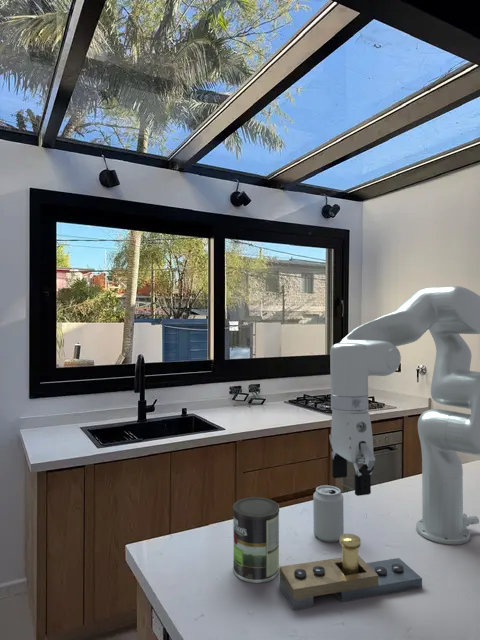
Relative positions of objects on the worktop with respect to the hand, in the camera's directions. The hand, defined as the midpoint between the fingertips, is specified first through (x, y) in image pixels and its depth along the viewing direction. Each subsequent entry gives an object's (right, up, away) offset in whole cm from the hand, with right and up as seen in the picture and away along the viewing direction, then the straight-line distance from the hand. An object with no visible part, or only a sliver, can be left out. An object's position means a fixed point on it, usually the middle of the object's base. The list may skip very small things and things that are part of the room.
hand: (350, 485), depth 92 cm
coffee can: (-19, -21, +6) cm, 29 cm away
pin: (0, -21, 0) cm, 21 cm away
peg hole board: (0, -21, 0) cm, 21 cm away
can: (0, -21, +21) cm, 30 cm away
